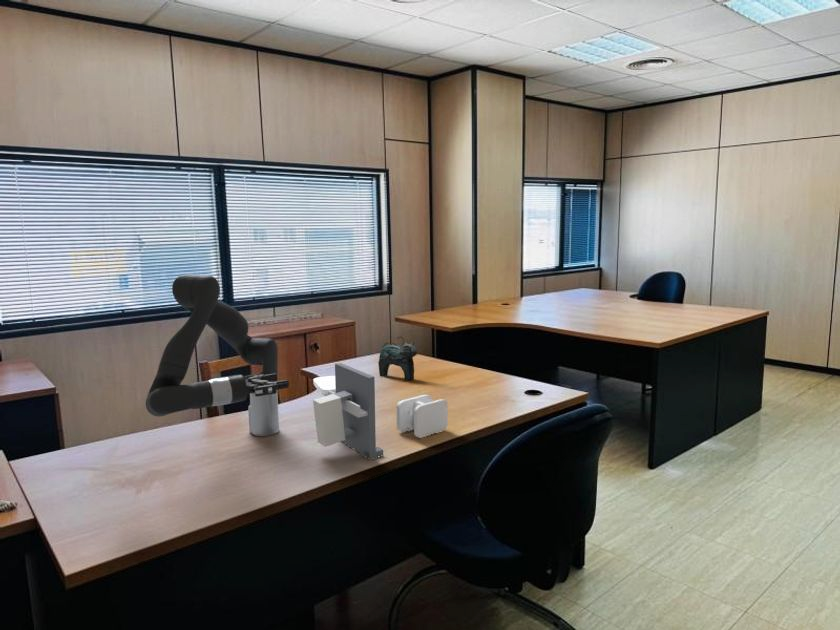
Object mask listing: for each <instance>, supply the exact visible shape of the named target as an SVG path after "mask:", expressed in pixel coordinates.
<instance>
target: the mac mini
mask: <svg viewBox="0 0 840 630" xmlns="http://www.w3.org/2000/svg"><path fill="white" fill-rule="evenodd" d="M313 385H314V387H315V388H316V389H317V390H318V392H319V391H320V392H321V393H320V392H319V393H320V394H321V395H323V394H325V395H324V396H328V391H332V392H334V393H336V385H335V375H329V376H328V375H326V376H317V377H315V378H313Z"/></svg>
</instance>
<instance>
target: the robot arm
mask: <svg viewBox="0 0 840 630" xmlns="http://www.w3.org/2000/svg"><path fill="white" fill-rule="evenodd" d="M171 287H172V288H171V289H172V290H171V291H172V295H173V298H174V300H175V301H176V302H177V304H178V305H179V306H181V307H183V308H184V309H185V310H187V311H188V312H190V313H191V315H190V316H189V318H188V319H187V320H186V322H185V324H183V326H182V327H181V328H180V329H178V330H177V332H176V333H175V334H174V335H173V336H172V337H171V338H170V339H169V340H168V343H167V344H166V346H165V348H164V350H163V353H162V355H161V359H160V361H159V364H158V367H157V372H156V375H155V377H154V380H153V382H152V384H151V386H150V389H149V390H148V393H147V396H146V398H145V399H146V400H145V408H146V410H147V412H148V413H149V414H150V415H151V416H154V417H159V418H160V417H164V416H167V415H171V414H174V413H179V412H183V411H186V410H198V409H204V408H210V407H215V406H217V407H219V406H224V405H230V404H235V403H239V402H244V401H246V400H247V397H248V396H249V400H250V401H249V405H248V407H247V408H248V409H247V410H248V411H247V412H248V428H249V429H248V431H249V433H250V434H252V435H253V436H257V437H269V436H272V435H275V434H277V433H279V431H280V424H279V422H280V420H279V418H280V417H279V401H278V400H279V399H278V395H279V393H278V391H279V390H283V389H288V388H289V386H290V384H289V383H290V382H289V380H288V379H284V380H278V379H279V378H278V374H279V370H278V367H279V366H278V365H279V364H278V363H279V359H278V358H279V356H278V355H279V354H278V353H279V352H278V351H279V349H278V343H277V342H276V340H275V339H273V338H268V337H267V338H266V337H265V338H264V337H253V336H250V335H248V333H249V323H248V321H247V319H246V318H245V317H244V316H243V314H241V313H240V312H239V311H238V309H236V308H235V307H233V306H232V305H229V304H227V303H225V302H224V301H223V302H222V301H220V300H219V298H220V293H221V288H220V282H219V281H218V279H217V278H216V277H214V276H212V275H206V274H192V273H191V274H190V273H187V274H183V275H182V274H181V275H179V276H177V277H176V278H175V279H174V281H173V282H172V286H171ZM206 326H208V327H209V328H210V329H212V330H213V331H214V332H215V333H216V334H217V335H218V336H219V337H220V338H222V340H223V341H225V342H227V344H228V345H230V346H231V347H232V348H233V349H234V351H236V353H237V354H238V355H239V357H240V358H241V359H242V360H243V361H244V362H245V363H247V364H249V365H253V366H262V371H259V372H258V373H253V374H248V375H243V374H240V373H239V374H233V375H227V376H221V377H220V376H219V377H215V378H212V379H209V380H203V381H196V382H192V383H188V384H181V383H182V382H183V381H184V379H185V377H186V376H187V372H188V370H189V366H190V362H191V361H192V357H193V354H194V352H195V351H194V350H195V348H196V345H197V344H198V341H199V339H200V337H201V335H202V333H203V331H204V329H205V328H206Z"/></svg>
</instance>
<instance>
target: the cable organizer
mask: <svg viewBox="0 0 840 630" xmlns="http://www.w3.org/2000/svg"><path fill="white" fill-rule="evenodd" d="M448 405H449V404H448V401H447V400H445V399H443V398H440V399H437V400H433V399H432V396H431V395H428V394H422V395H417V396H413V397H411V398H410V397H409V398H405V399H402V400H400V401H398V402H397V404H396V429H397V431H399V432H401V433H407V432H406V431H408V432H412V431H413V432H414V433H413V434H414V436H415V437H416V438H419V439H423V438H422V437H425V436H428V435H429V436H431V434H432V435H435V434H434V433H437V432H440V431H442V432H444V431H445V430H446V429H447V427H448V415H449V414H448V407H449V406H448ZM409 430H411V431H409ZM443 430H444V431H443ZM429 436H428V437H429ZM425 438H426V437H425Z"/></svg>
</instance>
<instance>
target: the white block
mask: <svg viewBox="0 0 840 630" xmlns="http://www.w3.org/2000/svg"><path fill="white" fill-rule="evenodd" d="M345 399H348V400H350V401H352V402H353V398H352V394H350V393H348V392H346V391H342V392H338V393H335V394H331V395H324V396H320V397H317V398H314V399H312V402H313V403H312V404H313V411H314V419H315V427H316V437H317V442H318V444H320V445H322V446H323V447H325V448H326V447H329V446H333V445H335V444H337V443H342V442H341V441H344V440H347V439H350V438H353V437H356V432H355V431H354V430H352V429H350V428H349V427H348V428H345V429H344V423H343V414H342V405H341V401H342V400H345Z"/></svg>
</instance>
